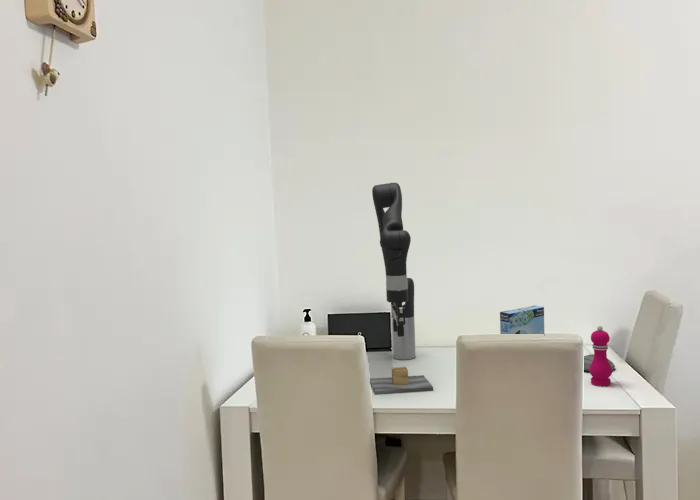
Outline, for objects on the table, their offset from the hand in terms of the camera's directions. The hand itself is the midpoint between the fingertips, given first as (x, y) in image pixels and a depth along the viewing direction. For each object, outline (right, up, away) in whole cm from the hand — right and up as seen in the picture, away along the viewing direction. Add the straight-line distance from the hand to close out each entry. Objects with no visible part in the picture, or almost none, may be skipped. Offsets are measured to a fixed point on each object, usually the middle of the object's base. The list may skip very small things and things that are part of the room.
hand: (398, 333), depth 229 cm
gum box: (+48, -16, +18) cm, 54 cm away
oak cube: (+1, -17, +1) cm, 17 cm away
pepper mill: (+69, -17, -6) cm, 71 cm away
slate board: (+1, -19, +1) cm, 19 cm away
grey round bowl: (+74, -15, +15) cm, 77 cm away
